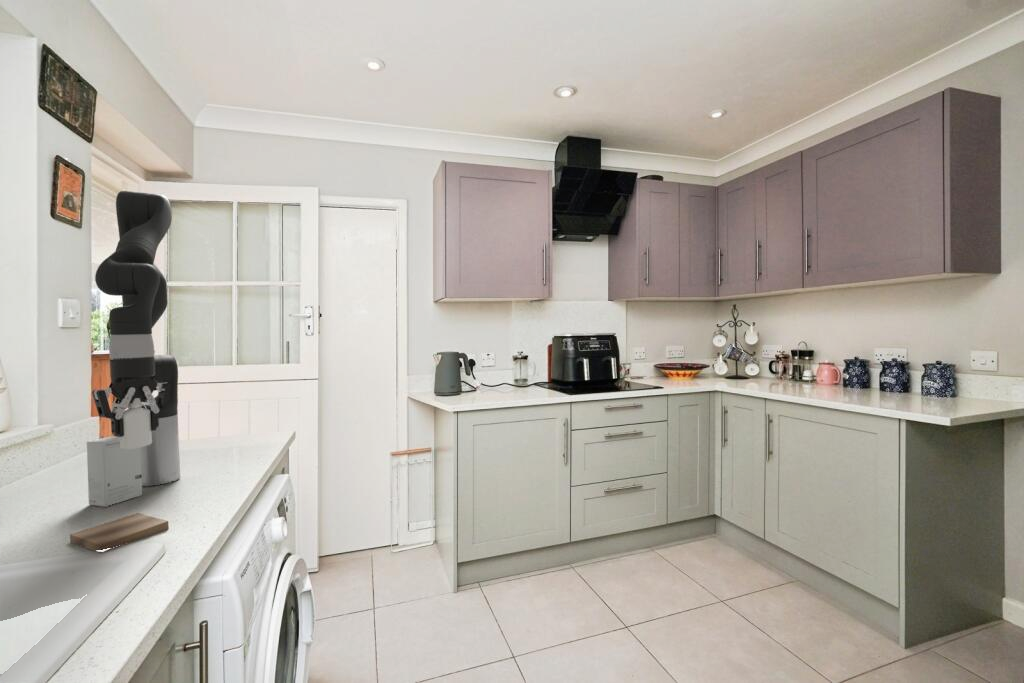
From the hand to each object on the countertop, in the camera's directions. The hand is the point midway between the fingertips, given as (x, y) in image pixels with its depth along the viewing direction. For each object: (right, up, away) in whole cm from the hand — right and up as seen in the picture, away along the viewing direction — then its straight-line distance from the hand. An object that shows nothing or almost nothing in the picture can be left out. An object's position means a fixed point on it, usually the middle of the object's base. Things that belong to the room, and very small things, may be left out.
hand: (136, 432), depth 101 cm
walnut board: (+6, -18, -11) cm, 22 cm away
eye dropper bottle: (0, -3, 0) cm, 3 cm away
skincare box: (-11, -18, +9) cm, 23 cm away
